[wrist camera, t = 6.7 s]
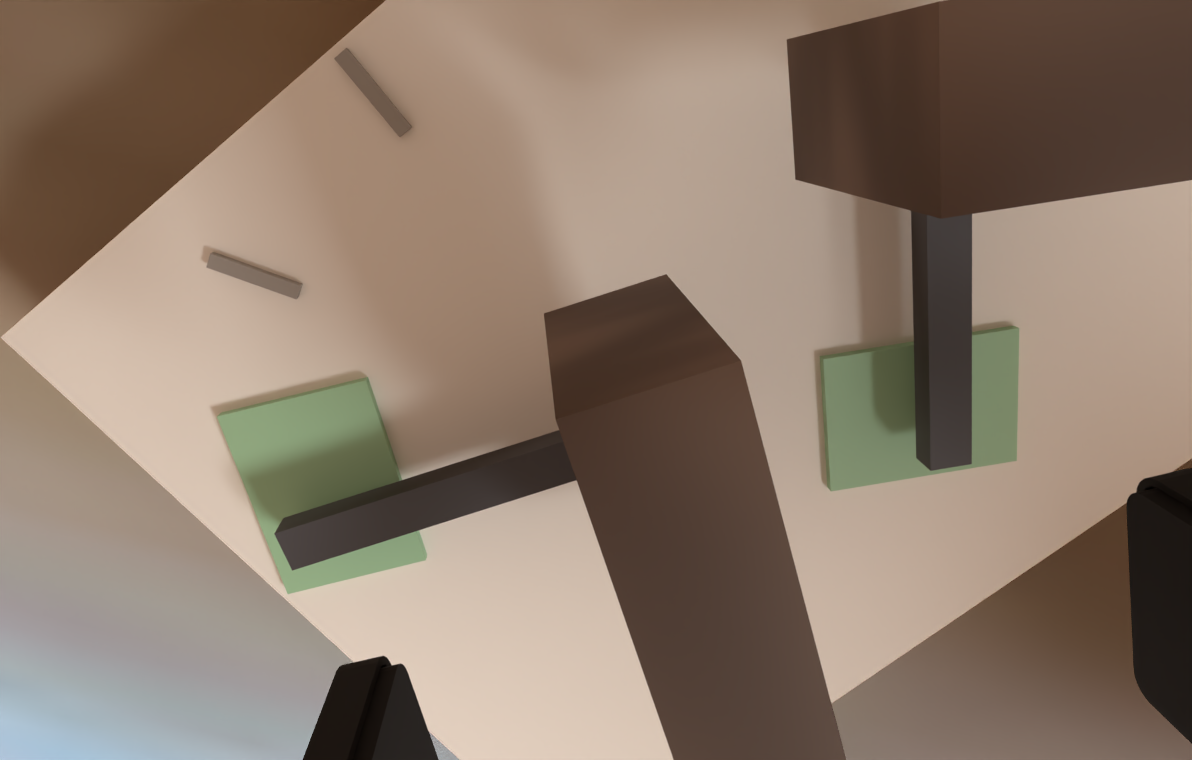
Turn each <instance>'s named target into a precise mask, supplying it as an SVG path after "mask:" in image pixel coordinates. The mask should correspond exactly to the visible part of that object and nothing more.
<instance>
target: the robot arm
mask: <svg viewBox="0 0 1192 760" xmlns="http://www.w3.org/2000/svg"><path fill="white" fill-rule="evenodd" d="M1127 528H1128V550H1129V573H1130V595H1131V618H1132V640H1133V663H1134V674H1135V678H1136V681H1137V684H1138V686H1139V688H1140V690H1141V692H1142V693H1143V695H1144V696H1145V698H1146V699H1147V700H1148V701H1149V702H1150V703H1151V704H1152V705H1153V706H1154V707H1155V708H1156V709H1157V710H1158V711H1159V712H1160V713H1161V714H1162V715H1163V716H1164V717H1165V718H1166V719H1167V720H1168V721H1169V722H1170V723H1171V724H1172V725H1173V726H1174V727H1175V728H1176V729H1177V730H1178V731H1179V732H1180V733H1181V734H1182V735H1184V736H1185V737H1186V738H1187V739H1188V740H1189V741H1190V742H1191V743H1192V468H1190V469H1183V470H1179V471H1174V472H1170V473H1166V474H1161V475H1157V476H1153V477H1149V478H1144V479H1143V480H1142V481H1140V482H1139V484H1138V487H1137V491H1136V493H1132V494H1131V495H1130V496H1129V497H1128V500H1127ZM303 760H438V757H437V754H436V751H435V748H434V746H433V743H432V740H431V737H430V734H429V731H428V728H427V726H426V723H425V720H424V717H423V714H422V711H421V708H420V706H419V703H418V700H417V697H416V694H415V691H414V689H413V686H412V683H411V680H410V677H409V674H408V672H407V670H406V668H405V666H404V665H403V664H401V663H400V664H396V665H391V663H390V661H389V660H388V658H387V657H385V656H379V657H375V658H371V659H366V660H362V661H358V662H354V663H349V664H345V665H342V666H340V667H339V668H338V670H337V671H336V674H335V676H334V679H333V682H332V684H331V687H330V689H329V692H328V695H327V697H326V700H325V703H324V705H323V708H322V710H321V713H320V716H319V718H318V721H317V724H316V726H315V729H314V731H313V734H312V737H311V739H310V742H309V745H308V747H307V750H306V752H305V755H304V758H303Z"/></svg>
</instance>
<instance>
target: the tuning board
mask: <svg viewBox="0 0 1192 760" xmlns="http://www.w3.org/2000/svg"><path fill="white" fill-rule="evenodd" d="M939 1H946V0H385V1H384V2H383V3H382V4H381V5H380V6H379V7H377V8H376V9H375V10H374V11H373V12H372V13H371V14H370V15H368V16H367V17H366V18H365V19H364V20H363V21H362V22H360V23H359V24H358V25H357V26H356V27H355V28H354V29H352V30H351V31H350V32H349V33H348V34H347V35H346V36H344V37H343V38H342V39H341V40H340V41H339V42H338V43H336V44H335V45H334V46H333V47H332V48H331V49H330V50H328V51H327V52H326V53H325V54H324V55H323V56H322V57H320V58H319V59H318V60H317V61H316V62H315V63H314V64H312V65H311V66H310V67H309V68H308V69H307V70H306V71H304V72H303V73H302V74H301V75H300V76H299V77H298V78H296V79H295V80H294V81H293V82H292V83H291V84H290V85H288V86H287V87H286V88H285V89H284V90H283V91H282V92H280V93H279V94H278V95H277V96H276V97H275V98H274V99H272V100H271V101H270V102H269V103H268V104H267V105H266V106H264V107H263V108H262V109H261V110H260V111H259V112H258V113H256V114H255V115H254V116H253V117H252V118H251V119H250V120H248V121H247V122H246V123H245V124H244V125H243V126H242V127H240V128H239V129H238V130H237V131H236V132H235V133H234V134H232V135H231V136H230V137H229V138H228V139H227V140H226V141H224V142H223V143H222V144H221V145H220V146H219V147H218V148H216V149H215V150H214V151H213V152H212V153H211V154H210V155H208V156H207V157H206V158H205V159H204V160H203V161H202V162H200V163H199V164H198V165H197V166H196V167H195V168H194V169H192V170H191V171H190V172H189V173H188V174H187V175H186V176H184V177H183V178H182V179H181V180H180V181H179V182H178V183H176V184H175V185H174V186H173V187H172V188H171V189H170V190H168V191H167V192H166V193H165V194H164V195H163V196H162V197H160V198H159V199H158V200H157V201H156V202H155V203H154V204H152V205H151V206H150V207H149V208H148V209H147V210H146V211H144V212H143V213H142V214H141V215H140V216H139V217H138V218H136V219H135V220H134V221H133V222H132V223H131V224H130V225H128V226H127V227H126V228H125V229H124V230H123V231H122V232H120V233H119V234H118V235H117V236H116V237H115V238H114V239H112V240H111V241H110V242H109V243H108V244H107V245H106V246H104V247H103V248H102V249H101V250H100V251H99V252H98V253H96V254H95V255H94V256H93V257H92V258H91V259H90V260H88V261H87V262H86V263H85V264H84V265H83V266H82V267H80V268H79V269H78V270H77V271H76V272H75V273H74V274H72V275H71V276H70V277H69V278H68V279H67V280H66V281H64V282H63V283H62V284H61V285H60V286H59V287H58V288H56V289H55V290H54V291H53V292H52V293H51V294H50V295H48V296H47V297H46V298H45V299H44V300H43V301H42V302H40V303H39V304H38V305H37V306H36V307H35V308H34V309H32V310H31V311H30V312H29V313H28V314H27V315H26V316H24V317H23V318H22V319H21V320H20V321H19V322H18V323H16V324H15V325H14V326H13V327H12V328H11V329H10V330H8V331H7V332H6V333H5V334H4V335H3V336H2V337H1V338H2V339H3V340H4V341H5V342H6V343H7V344H8V345H9V346H10V347H12V348H13V349H14V350H15V351H16V352H17V353H18V354H19V355H20V356H21V357H22V358H24V359H25V360H26V361H27V362H28V363H29V364H30V365H31V366H32V367H33V368H34V369H35V370H37V371H38V372H39V373H40V374H41V375H42V376H43V377H44V378H45V379H46V380H47V381H49V382H50V383H51V384H52V385H53V386H54V387H55V388H56V389H57V390H58V391H59V392H60V393H62V394H63V395H64V396H65V397H66V398H67V399H68V400H69V401H70V402H71V403H72V404H74V405H75V406H76V407H77V408H78V409H79V410H80V411H81V412H82V413H83V414H84V415H86V416H87V417H88V418H89V419H90V420H91V421H92V422H93V423H94V424H95V425H96V426H97V427H99V428H100V429H101V430H102V431H103V432H104V433H105V434H106V435H107V436H108V437H109V438H111V439H112V440H113V441H114V442H115V443H116V444H117V445H118V446H119V447H120V448H121V449H122V450H124V451H125V452H126V453H127V454H128V455H129V456H130V457H131V458H132V459H133V460H134V461H136V462H137V463H138V464H139V465H140V466H141V467H142V468H143V469H144V470H145V471H146V472H148V473H149V474H150V475H151V476H152V477H153V478H154V479H155V480H156V481H157V482H158V483H159V484H161V485H162V486H163V487H164V488H165V489H166V490H167V491H168V492H169V493H170V494H171V495H173V496H174V497H175V498H176V499H177V500H178V501H179V502H180V503H181V504H182V505H183V506H184V507H186V508H187V509H188V510H189V511H190V512H191V513H192V514H193V515H194V516H195V517H196V518H198V519H199V520H200V521H201V522H202V523H203V524H204V525H205V526H206V527H207V528H208V529H210V530H211V531H212V532H213V533H214V534H215V535H216V536H217V537H218V538H219V539H220V540H221V541H223V542H224V543H225V544H226V545H227V546H228V547H229V548H230V549H231V550H232V551H233V552H235V553H236V554H237V555H238V556H239V557H240V558H241V559H242V560H243V561H244V562H245V563H246V564H248V565H249V566H250V567H251V568H252V569H253V570H254V571H255V572H256V573H257V574H258V575H260V576H261V577H262V578H263V579H264V580H265V581H266V582H267V583H268V584H269V585H270V586H272V587H273V588H274V589H275V590H276V591H277V592H278V593H279V594H280V595H281V596H282V597H283V598H285V599H286V600H287V601H288V602H289V603H290V604H291V605H292V606H293V607H294V608H295V609H297V610H298V611H299V612H300V613H301V614H302V615H303V616H304V617H305V618H306V619H307V620H308V621H310V622H311V623H312V624H313V625H314V626H315V627H316V628H317V629H318V630H319V631H320V632H322V633H323V634H324V635H325V636H326V637H327V638H328V639H329V640H330V641H331V642H332V643H333V644H335V645H336V646H337V647H338V648H339V649H340V650H341V651H342V652H343V653H344V654H345V655H347V656H348V657H349V658H350V659H351V660H352V661H353V662H358V661H362V660H366V659H371V658H375V657H379V656H385V657H387V658H388V660H389V661H390V663H391V665H396V664H400V663H401V664H403V665H404V666H405V668H406V670H407V672H408V674H409V677H410V680H411V683H412V686H413V689H414V691H415V694H416V697H417V700H418V703H419V706H420V708H421V711H422V714H423V717H424V720H425V723H426V726H427V728H428V731H429V732H430V733H431V734H432V735H434V736H435V737H436V738H437V739H438V740H439V741H440V742H441V743H442V744H443V745H444V746H446V747H447V748H448V749H449V750H450V751H451V752H452V753H453V754H454V755H455V756H456V757H457V758H459V759H460V760H673V757H672V754H671V751H670V748H669V745H668V742H667V739H666V737H665V734H664V731H663V728H662V725H661V722H660V719H659V716H658V713H657V711H656V708H655V705H654V702H653V699H652V696H651V693H650V690H649V688H648V685H647V682H646V679H645V676H644V673H643V670H642V667H641V664H640V662H639V659H638V656H637V653H636V650H635V647H634V644H633V641H632V639H631V636H630V633H629V630H628V627H627V624H626V621H625V618H624V615H623V613H622V610H621V607H620V604H619V601H618V598H617V595H616V592H615V590H614V587H613V584H612V581H611V578H610V575H609V572H608V569H607V566H606V564H605V561H604V558H603V555H602V552H601V549H600V546H599V543H598V541H597V538H596V535H595V532H594V529H593V526H592V523H591V520H590V517H589V515H588V512H587V509H586V506H585V503H584V500H583V497H582V494H581V492H580V489H579V486H578V483H577V480H576V481H573V482H569V483H566V484H563V485H560V486H557V487H554V488H551V489H547V490H544V491H541V492H538V493H535V494H532V495H529V496H525V497H522V498H519V499H516V500H513V501H510V502H507V503H503V504H500V505H497V506H494V507H491V508H488V509H485V510H481V511H478V512H475V513H472V514H469V515H466V516H463V517H459V518H456V519H453V520H450V521H447V522H444V523H441V524H437V525H434V526H431V527H428V528H425V529H422V530H419V531H415V532H412V533H409V534H406V535H403V536H400V537H397V538H393V539H390V540H387V541H384V542H381V543H378V544H375V545H371V546H368V547H365V548H362V549H359V550H356V551H353V552H349V553H346V554H343V555H340V556H337V557H334V558H330V559H327V560H324V561H321V562H318V563H315V564H312V565H308V566H305V567H302V568H299V569H296V570H293V571H292V569H291V567H290V565H289V563H288V561H287V559H286V557H285V555H284V553H283V551H282V549H281V547H280V545H279V543H278V541H277V538H276V536H275V534H274V533H275V532H276V530H277V528H278V526H279V525H280V523H281V521H282V519H283V518H285V517H288V516H291V515H294V514H297V513H300V512H304V511H307V510H310V509H313V508H316V507H319V506H322V505H326V504H329V503H332V502H335V501H338V500H341V499H344V498H347V497H351V496H354V495H357V494H360V493H363V492H366V491H369V490H373V489H376V488H379V487H382V486H385V485H388V484H391V483H394V482H398V481H401V480H404V479H407V478H410V477H413V476H416V475H420V474H423V473H426V472H429V471H432V470H435V469H438V468H442V467H445V466H448V465H451V464H454V463H457V462H460V461H463V460H467V459H470V458H473V457H476V456H479V455H482V454H485V453H489V452H492V451H495V450H498V449H501V448H504V447H507V446H510V445H514V444H517V443H520V442H523V441H526V440H529V439H532V438H536V437H539V436H542V435H545V434H548V433H551V432H554V431H557V430H559V428H558V425H557V422H556V419H555V410H554V401H553V392H552V383H551V374H550V365H549V356H548V347H547V339H546V330H545V321H544V313H547V312H550V311H553V310H556V309H559V308H562V307H565V306H569V305H572V304H575V303H578V302H581V301H584V300H587V299H590V298H594V297H597V296H600V295H603V294H606V293H609V292H612V291H615V290H618V289H622V288H625V287H628V286H631V285H634V284H637V283H640V282H643V281H646V280H650V279H653V278H656V277H659V276H662V275H665V274H667V275H668V277H669V278H670V279H671V280H672V281H673V282H674V284H675V285H676V286H677V287H678V288H679V289H680V290H681V292H682V293H683V294H684V295H685V296H686V297H687V299H688V300H689V301H690V302H691V303H692V304H693V305H694V307H695V308H696V309H697V310H698V311H699V312H700V314H701V315H702V316H703V317H704V318H705V319H706V320H707V322H708V323H709V324H710V325H711V326H712V327H713V329H714V330H715V331H716V332H717V333H718V334H719V336H720V337H721V338H722V339H723V340H724V341H725V342H726V344H727V345H728V346H729V347H730V348H731V349H732V351H733V352H734V353H735V354H736V355H737V356H738V357H739V359H740V360H741V362H742V366H743V370H744V373H745V377H746V381H747V385H748V389H749V392H750V396H751V400H752V404H753V408H754V411H755V415H756V419H757V423H758V427H759V430H760V434H761V438H762V442H763V446H764V449H765V453H766V457H767V461H768V465H769V468H770V472H771V476H772V480H773V484H774V487H775V491H776V495H777V499H778V503H779V506H780V510H781V514H782V518H783V522H784V526H785V529H786V533H787V537H788V541H789V545H790V548H791V552H792V556H793V560H794V564H795V567H796V571H797V575H798V579H799V583H800V586H801V590H802V594H803V598H804V602H805V605H806V609H807V613H808V617H809V621H810V624H811V628H812V632H813V636H814V640H815V643H816V647H817V651H818V655H819V659H820V662H821V666H822V670H823V674H824V678H825V681H826V685H827V689H828V693H829V697H830V700H831V703H833V702H834V701H836V700H837V699H839V698H840V697H842V696H843V695H845V694H846V693H848V692H849V691H850V690H852V689H853V688H855V687H856V686H858V685H859V684H861V683H862V682H864V681H865V680H867V679H868V678H870V677H871V676H873V675H874V674H875V673H877V672H878V671H880V670H881V669H883V668H884V667H886V666H887V665H889V664H890V663H892V662H893V661H895V660H896V659H898V658H899V657H901V656H902V655H903V654H905V653H906V652H908V651H909V650H911V649H912V648H914V647H915V646H917V645H918V644H920V643H921V642H923V641H924V640H926V639H927V638H928V637H930V636H931V635H933V634H934V633H936V632H937V631H939V630H940V629H942V628H943V627H945V626H946V625H948V624H949V623H951V622H952V621H953V620H955V619H956V618H958V617H959V616H961V615H962V614H964V613H965V612H967V611H968V610H970V609H971V608H973V607H974V606H976V605H977V604H978V603H980V602H981V601H983V600H984V599H986V598H987V597H989V596H990V595H992V594H993V593H995V592H996V591H998V590H999V589H1001V588H1002V587H1003V586H1005V585H1006V584H1008V583H1009V582H1011V581H1012V580H1014V579H1015V578H1017V577H1018V576H1020V575H1021V574H1023V573H1024V572H1026V571H1027V570H1028V569H1030V568H1031V567H1033V566H1034V565H1036V564H1037V563H1039V562H1040V561H1042V560H1043V559H1045V558H1046V557H1048V556H1049V555H1051V554H1052V553H1053V552H1055V551H1056V550H1058V549H1059V548H1061V547H1062V546H1064V545H1065V544H1067V543H1068V542H1070V541H1071V540H1073V539H1074V538H1076V537H1077V536H1078V535H1080V534H1081V533H1083V532H1084V531H1086V530H1087V529H1089V528H1090V527H1092V526H1093V525H1095V524H1096V523H1098V522H1099V521H1101V520H1102V519H1104V518H1105V517H1106V516H1108V515H1109V514H1111V513H1112V512H1114V511H1115V510H1117V509H1118V508H1120V507H1121V506H1123V505H1124V504H1126V503H1127V500H1128V497H1129V496H1130V495H1131V494H1132V493H1136V491H1137V487H1138V484H1139V482H1140V481H1142V480H1143V479H1144V478H1149V477H1153V476H1157V475H1161V474H1166V473H1170V472H1173V471H1174V470H1176V469H1177V468H1179V467H1180V466H1181V465H1183V464H1184V463H1186V462H1187V461H1189V460H1190V459H1192V180H1189V181H1183V182H1176V183H1170V184H1163V185H1157V186H1150V187H1144V188H1137V189H1131V190H1124V191H1118V192H1111V193H1105V194H1098V195H1092V196H1085V197H1079V198H1072V199H1066V200H1059V201H1053V202H1046V203H1040V204H1034V205H1027V206H1021V207H1014V208H1008V209H1001V210H995V211H988V212H982V213H975V214H972V464H970V465H964V466H958V467H951V468H945V469H939V470H933V471H930V470H929V469H928V468H927V467H926V466H925V465H923V464H922V463H921V462H920V461H919V460H918V459H917V458H916V424H915V377H914V330H913V283H912V235H911V211H910V210H907V209H903V208H899V207H895V206H892V205H888V204H884V203H881V202H877V201H873V200H869V199H866V198H862V197H858V196H854V195H851V194H847V193H843V192H840V191H836V190H832V189H828V188H825V187H821V186H817V185H814V184H810V183H806V182H802V181H799V180H795V165H794V149H793V133H792V118H791V102H790V86H789V70H788V54H787V39H790V38H794V37H798V36H802V35H806V34H810V33H814V32H818V31H822V30H826V29H830V28H834V27H838V26H842V25H846V24H850V23H854V22H859V21H863V20H867V19H871V18H875V17H879V16H883V15H887V14H891V13H895V12H899V11H903V10H907V9H911V8H915V7H919V6H923V5H927V4H931V3H935V2H939Z"/></svg>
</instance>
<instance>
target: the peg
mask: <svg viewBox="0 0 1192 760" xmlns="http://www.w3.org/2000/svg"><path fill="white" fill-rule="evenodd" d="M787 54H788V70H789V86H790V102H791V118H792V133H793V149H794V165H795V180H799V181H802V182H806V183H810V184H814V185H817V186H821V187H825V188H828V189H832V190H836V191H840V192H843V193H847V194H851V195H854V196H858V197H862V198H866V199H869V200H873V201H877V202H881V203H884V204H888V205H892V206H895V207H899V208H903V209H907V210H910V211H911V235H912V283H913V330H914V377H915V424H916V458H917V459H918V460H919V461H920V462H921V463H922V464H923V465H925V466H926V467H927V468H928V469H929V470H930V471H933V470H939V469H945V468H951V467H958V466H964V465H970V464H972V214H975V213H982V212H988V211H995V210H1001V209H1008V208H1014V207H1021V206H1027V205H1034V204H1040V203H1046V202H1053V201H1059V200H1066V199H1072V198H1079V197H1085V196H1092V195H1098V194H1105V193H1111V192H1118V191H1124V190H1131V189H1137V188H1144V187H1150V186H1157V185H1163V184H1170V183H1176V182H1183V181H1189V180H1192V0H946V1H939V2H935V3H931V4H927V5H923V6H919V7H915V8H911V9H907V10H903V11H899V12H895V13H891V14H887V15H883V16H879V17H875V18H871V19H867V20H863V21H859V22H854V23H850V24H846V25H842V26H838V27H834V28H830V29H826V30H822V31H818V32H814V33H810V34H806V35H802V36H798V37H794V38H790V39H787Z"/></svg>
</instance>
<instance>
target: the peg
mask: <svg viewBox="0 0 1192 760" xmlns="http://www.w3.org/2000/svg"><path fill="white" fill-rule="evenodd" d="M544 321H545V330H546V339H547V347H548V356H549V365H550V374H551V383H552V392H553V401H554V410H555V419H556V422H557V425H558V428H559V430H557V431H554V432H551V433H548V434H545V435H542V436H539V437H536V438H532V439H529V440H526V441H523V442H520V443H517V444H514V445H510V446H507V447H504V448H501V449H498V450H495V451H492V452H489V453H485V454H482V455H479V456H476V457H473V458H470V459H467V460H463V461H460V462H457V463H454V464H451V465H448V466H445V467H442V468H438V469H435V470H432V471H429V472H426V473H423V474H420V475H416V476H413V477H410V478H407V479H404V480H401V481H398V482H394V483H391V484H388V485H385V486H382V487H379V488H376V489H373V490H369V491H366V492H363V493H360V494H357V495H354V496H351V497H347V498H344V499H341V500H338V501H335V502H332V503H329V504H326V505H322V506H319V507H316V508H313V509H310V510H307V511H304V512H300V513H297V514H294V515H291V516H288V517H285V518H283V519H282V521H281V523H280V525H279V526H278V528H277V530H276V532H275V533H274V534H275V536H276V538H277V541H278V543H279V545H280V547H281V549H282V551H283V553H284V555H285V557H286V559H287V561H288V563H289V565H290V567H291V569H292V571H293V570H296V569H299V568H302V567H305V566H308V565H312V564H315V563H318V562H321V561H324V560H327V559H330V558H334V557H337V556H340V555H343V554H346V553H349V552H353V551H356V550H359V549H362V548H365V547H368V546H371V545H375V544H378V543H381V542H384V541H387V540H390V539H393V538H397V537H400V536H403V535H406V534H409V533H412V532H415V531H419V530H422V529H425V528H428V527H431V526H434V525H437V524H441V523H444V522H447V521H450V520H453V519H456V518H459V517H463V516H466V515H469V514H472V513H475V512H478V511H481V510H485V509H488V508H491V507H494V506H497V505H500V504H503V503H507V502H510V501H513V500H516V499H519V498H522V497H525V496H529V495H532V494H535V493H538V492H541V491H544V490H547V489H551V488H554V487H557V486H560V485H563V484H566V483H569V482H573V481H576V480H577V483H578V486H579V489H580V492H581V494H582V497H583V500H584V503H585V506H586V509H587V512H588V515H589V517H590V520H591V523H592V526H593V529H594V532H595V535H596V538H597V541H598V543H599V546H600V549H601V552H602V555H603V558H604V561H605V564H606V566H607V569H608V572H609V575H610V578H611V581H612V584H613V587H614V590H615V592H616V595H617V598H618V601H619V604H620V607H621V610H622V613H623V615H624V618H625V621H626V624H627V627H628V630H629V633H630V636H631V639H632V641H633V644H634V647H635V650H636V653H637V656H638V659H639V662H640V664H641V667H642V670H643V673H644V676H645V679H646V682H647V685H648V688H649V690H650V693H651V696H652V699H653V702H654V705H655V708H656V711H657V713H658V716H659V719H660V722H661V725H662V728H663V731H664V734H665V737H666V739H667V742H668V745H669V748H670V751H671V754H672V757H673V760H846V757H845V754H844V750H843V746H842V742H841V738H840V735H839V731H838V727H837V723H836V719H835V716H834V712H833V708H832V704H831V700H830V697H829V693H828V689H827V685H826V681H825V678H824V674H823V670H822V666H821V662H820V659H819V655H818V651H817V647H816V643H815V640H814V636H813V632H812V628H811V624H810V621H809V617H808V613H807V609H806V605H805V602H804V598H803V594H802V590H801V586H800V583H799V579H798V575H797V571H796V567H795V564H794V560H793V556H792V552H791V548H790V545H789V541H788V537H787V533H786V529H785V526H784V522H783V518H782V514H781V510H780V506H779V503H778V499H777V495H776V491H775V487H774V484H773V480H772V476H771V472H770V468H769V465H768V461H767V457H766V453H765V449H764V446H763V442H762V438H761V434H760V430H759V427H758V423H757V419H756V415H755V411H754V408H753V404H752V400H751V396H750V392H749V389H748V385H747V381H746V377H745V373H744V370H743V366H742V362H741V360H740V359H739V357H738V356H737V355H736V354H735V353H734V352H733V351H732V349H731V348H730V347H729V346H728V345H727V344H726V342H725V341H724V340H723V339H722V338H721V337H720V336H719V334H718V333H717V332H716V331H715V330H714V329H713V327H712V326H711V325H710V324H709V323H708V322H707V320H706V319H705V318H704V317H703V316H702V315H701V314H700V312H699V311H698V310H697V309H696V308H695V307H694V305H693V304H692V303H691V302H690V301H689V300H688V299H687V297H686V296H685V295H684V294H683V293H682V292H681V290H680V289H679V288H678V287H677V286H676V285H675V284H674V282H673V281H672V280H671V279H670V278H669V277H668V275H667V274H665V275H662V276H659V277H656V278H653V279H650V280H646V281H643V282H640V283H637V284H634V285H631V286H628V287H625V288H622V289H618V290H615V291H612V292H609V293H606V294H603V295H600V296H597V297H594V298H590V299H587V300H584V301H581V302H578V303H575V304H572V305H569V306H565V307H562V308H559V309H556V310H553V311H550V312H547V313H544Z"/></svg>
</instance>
